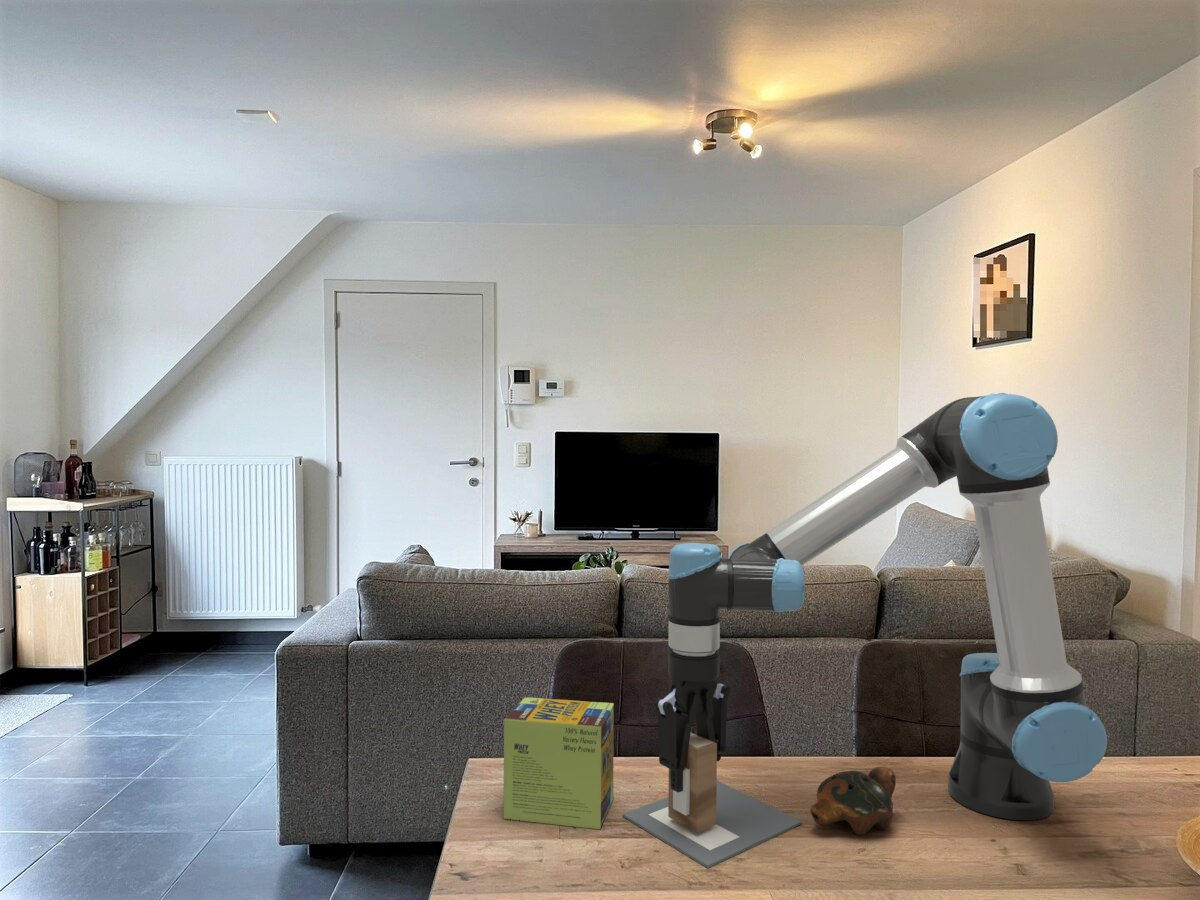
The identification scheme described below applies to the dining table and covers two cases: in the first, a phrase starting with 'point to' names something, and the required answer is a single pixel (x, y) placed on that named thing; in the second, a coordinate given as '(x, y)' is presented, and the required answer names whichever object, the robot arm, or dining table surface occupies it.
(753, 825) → the mat
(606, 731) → the protein box
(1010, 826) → the dining table surface
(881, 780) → the decorative turtle
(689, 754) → the walnut block
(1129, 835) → the dining table surface
